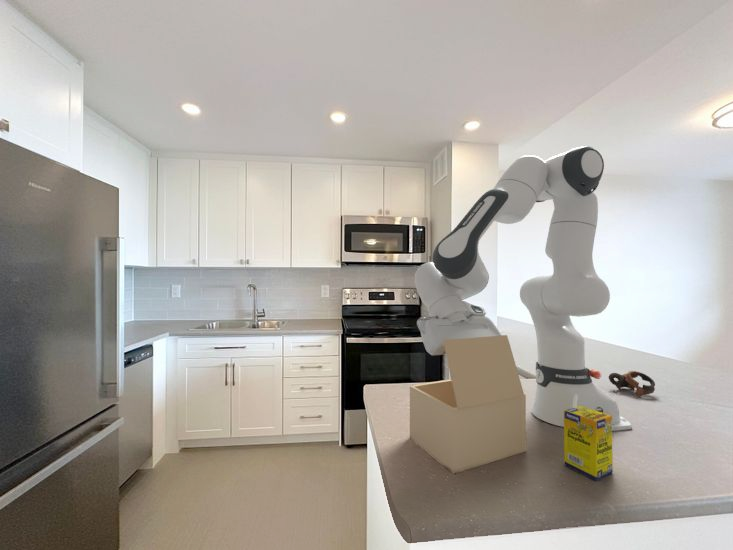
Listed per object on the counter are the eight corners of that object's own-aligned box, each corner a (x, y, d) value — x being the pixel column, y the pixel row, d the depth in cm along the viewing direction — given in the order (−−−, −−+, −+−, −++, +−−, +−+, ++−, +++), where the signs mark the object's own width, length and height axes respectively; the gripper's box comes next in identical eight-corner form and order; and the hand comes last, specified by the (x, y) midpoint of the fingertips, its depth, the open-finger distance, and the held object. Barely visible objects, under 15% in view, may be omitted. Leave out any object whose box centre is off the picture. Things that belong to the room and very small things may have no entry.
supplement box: (597, 482, 56) (596, 421, 56) (563, 465, 61) (562, 409, 62) (614, 473, 59) (612, 415, 59) (580, 457, 64) (579, 404, 64)
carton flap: (505, 335, 71) (507, 335, 70) (522, 395, 66) (524, 395, 66) (442, 340, 63) (444, 340, 63) (457, 408, 59) (459, 408, 58)
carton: (473, 422, 80) (473, 375, 81) (526, 451, 66) (525, 394, 67) (408, 437, 72) (408, 385, 72) (453, 474, 58) (453, 409, 58)
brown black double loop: (642, 391, 108) (654, 374, 104) (649, 411, 101) (662, 393, 97) (602, 378, 113) (611, 361, 109) (606, 396, 106) (616, 379, 102)
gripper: (419, 308, 68) (447, 363, 59) (488, 307, 77) (522, 356, 67) (408, 325, 72) (432, 380, 63) (475, 323, 81) (505, 371, 71)
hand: (479, 367), depth 65 cm, fingers closed, pressing on carton flap
